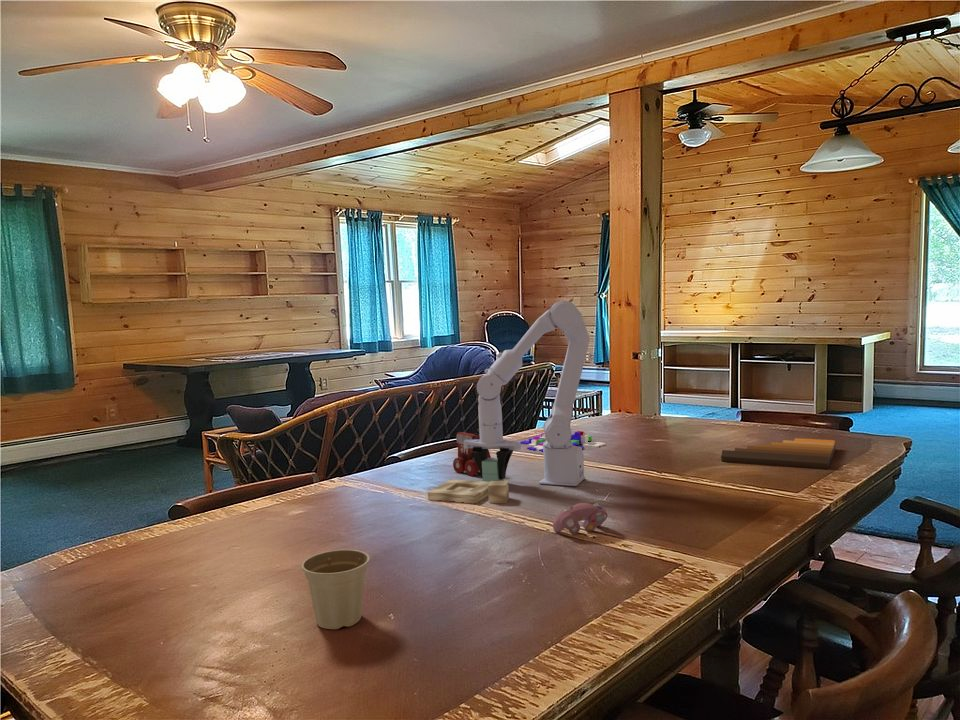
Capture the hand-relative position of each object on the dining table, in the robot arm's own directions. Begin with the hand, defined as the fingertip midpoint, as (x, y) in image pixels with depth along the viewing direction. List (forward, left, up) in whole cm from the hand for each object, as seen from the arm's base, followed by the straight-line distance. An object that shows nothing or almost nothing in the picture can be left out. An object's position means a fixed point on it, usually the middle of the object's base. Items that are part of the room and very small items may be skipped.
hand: (493, 478), depth 168 cm
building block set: (-1, -48, -2) cm, 48 cm away
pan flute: (-64, -46, -2) cm, 79 cm away
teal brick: (0, 0, -2) cm, 2 cm away
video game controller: (-30, +29, -2) cm, 42 cm away
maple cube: (-7, +13, -2) cm, 15 cm away
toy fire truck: (+10, -10, -2) cm, 14 cm away
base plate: (+3, +11, -1) cm, 11 cm away
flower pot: (-9, +75, -2) cm, 76 cm away
